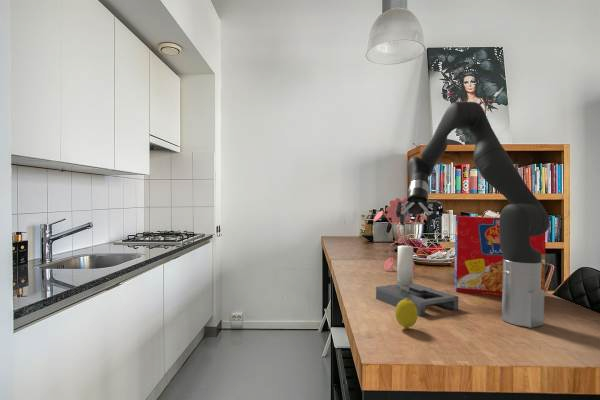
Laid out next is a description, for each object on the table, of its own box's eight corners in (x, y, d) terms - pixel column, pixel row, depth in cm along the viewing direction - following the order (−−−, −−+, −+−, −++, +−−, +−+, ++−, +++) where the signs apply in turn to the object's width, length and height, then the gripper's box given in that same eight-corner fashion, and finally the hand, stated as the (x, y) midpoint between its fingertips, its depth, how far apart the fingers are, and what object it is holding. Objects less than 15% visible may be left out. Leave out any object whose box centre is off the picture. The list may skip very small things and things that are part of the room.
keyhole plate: (458, 309, 110) (458, 296, 110) (420, 316, 103) (420, 302, 103) (411, 293, 128) (411, 282, 128) (376, 298, 121) (376, 286, 121)
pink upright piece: (375, 267, 177) (376, 197, 177) (429, 273, 165) (431, 198, 164) (365, 273, 164) (367, 197, 163) (424, 280, 152) (426, 198, 151)
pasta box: (456, 292, 132) (457, 216, 132) (454, 287, 139) (455, 216, 139) (544, 300, 123) (545, 219, 123) (537, 294, 131) (538, 218, 131)
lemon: (400, 323, 97) (401, 294, 97) (420, 328, 93) (421, 298, 93) (391, 329, 93) (392, 298, 93) (412, 334, 89) (412, 302, 89)
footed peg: (417, 301, 119) (418, 247, 119) (404, 303, 116) (405, 248, 116) (404, 296, 124) (405, 245, 124) (391, 298, 122) (392, 245, 122)
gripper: (398, 186, 139) (393, 217, 128) (437, 186, 134) (435, 218, 123) (399, 200, 144) (395, 230, 133) (437, 200, 138) (436, 232, 128)
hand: (415, 224), depth 128 cm, fingers open, 8 cm apart
